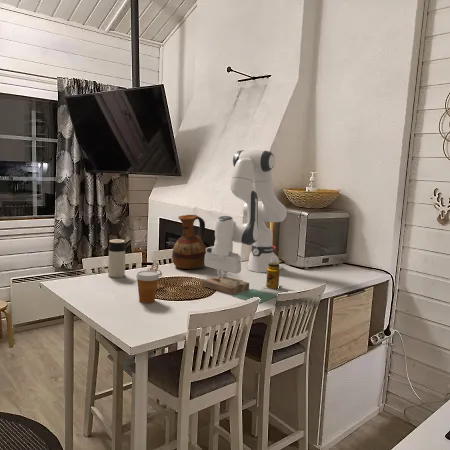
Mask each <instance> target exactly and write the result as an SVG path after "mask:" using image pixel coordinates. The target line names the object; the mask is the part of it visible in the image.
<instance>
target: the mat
mask: <svg viewBox="0 0 450 450" xmlns="http://www.w3.org/2000/svg"><path fill="white" fill-rule="evenodd" d="M276 295H277V294H273V293H271V292H266V291H262V290H259V289H255V288H252V289H248V290H245V291H242V292H239V293H236V294H233V295H232V298H233V297H234V298H237V299H240V300H245V301H247V299H250V298H253V297H259V298H260V299H261V300H260V303H259V304H262V303H264V302H267V301H269V299H270V300H272V299H274V297H275V298H276ZM271 298H272V299H271ZM261 302H262V303H261Z"/></svg>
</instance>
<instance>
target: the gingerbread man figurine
mask: <svg viewBox="0 0 450 450" xmlns="http://www.w3.org/2000/svg"><path fill="white" fill-rule="evenodd" d="M146 271H156V272H159V273H158V274H159V278H162V276H163V273H162V271H161V270H160V269H159V264H158V263H156V262H155V263H152V264H151V266H150V267H148V268H147V270H146ZM160 287H164V288H165V285H162V284H161V283H160V280H159V279H158V283H157V288H160Z"/></svg>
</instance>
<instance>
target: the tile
mask: <svg viewBox="0 0 450 450" xmlns="http://www.w3.org/2000/svg"><path fill="white" fill-rule="evenodd" d="M243 282H244V280H243V279H240V278H236V277H233V276H229V275H228V276H225V277H224V278H220V283H224V284H227V285H231V286H235V287H236V286H239V285H242V284H243Z"/></svg>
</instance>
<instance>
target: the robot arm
mask: <svg viewBox="0 0 450 450" xmlns="http://www.w3.org/2000/svg"><path fill="white" fill-rule="evenodd" d="M275 160H276V159H275V155H274V154H273V152H271V151H268V150H261V149H249V150H247V149H246V150H244V149H243V150H238V151H236V152H235V153H234V155H233V157H232V164H233V167H234V168H233V170H232V171H233V172H232V175H231V179H230V191H231V192H232V194H233V196H235V197H236V198H238V199H239V200H241V201H244V202H245V203H244V205H243V206H242V214H243V216H244V218H245V219H246V220H247V222H246V223H243V222H237V221H234V219H233V217H232V216H229V215H224V216H219V217H217V219H216V223H215V227H214V237H215V238H214V239H215V240H214V245H211V246H209V247H206V252H207V253H206V254H205V259H204V264H205V265H204V266H205V267H207V268H208V267H209V268H212V269H216V273H217V276H218V278H219V279H220V278H224V277H227V276H226V275H228V273H232V274H240V272H241V271H242V261H241V259H242V257H241V256H240V255H239V253H235V252H233V251H234V250H233V246H234V243H237V244H243V245H246V246H251V247H250V251H251V252H249V257H248V263H247V264H246V267H247V269H248V270H249V271H251V272H256V273H267V269H268V264H269V263H278V264H279V270H282V269H283V266H282V265H280V258H279V257H278V255H277V254H275V252H274V250H276V248H277V247H276V245H273V231H272V230H271V229H270V228H268V226H266V223H267V222H269V223H281V222H284V220H286V217H287V215H288V214H287V213H288V212H287V207H286V206H285V204H283V203H281V201H280V200H279V198H277V196H276V194H275V192H274V191H275V190H274V187H273V186H274V184H273V172H272V170H273V168H274V167H275V163H276V161H275ZM258 199H259V200H258ZM265 222H266V223H265Z"/></svg>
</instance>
